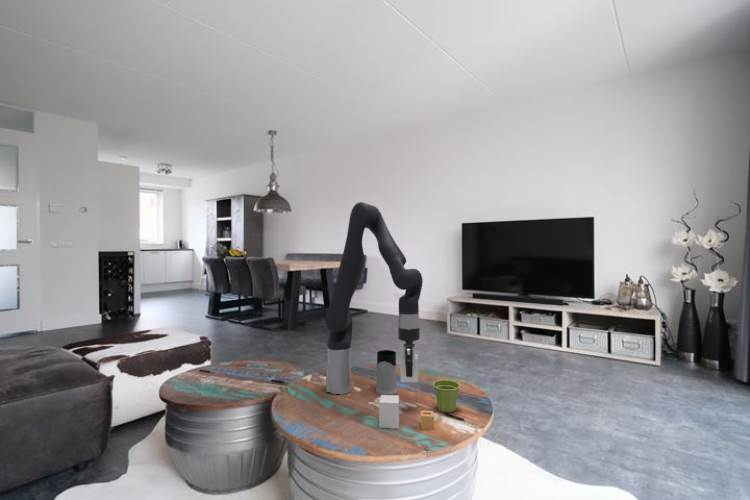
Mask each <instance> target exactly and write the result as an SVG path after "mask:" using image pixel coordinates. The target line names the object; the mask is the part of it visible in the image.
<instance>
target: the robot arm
mask: <svg viewBox="0 0 750 500" xmlns="http://www.w3.org/2000/svg"><path fill="white" fill-rule="evenodd" d="M365 229H368V230H369V231H370V232H371V233H372V235H373V236H374V237H375V239H376V241H377V248H378V250H379V254H380V256H381V257H382V259H383V260H384V262H385V264H386V265H387V267H388V269H389V273H390V276H391V279H392V282H393V284H394V285H395V287H396V288H397V289H399V290H403V291H404V290H405V293H404V295H402V296H400V297H398V298H399V299H398V316H397V318H398V319H397V333H398V335H397V336H398V340H399V341H402V342H405V343H403V346H402V347H403V348H402V350H403V354H404V359H405V366H406V377H412V366H413V359H414V354H415V350H416V349H415V348H416V344H415V343H414V342H416V341H419V340H420V338H421V337H420V336H421V335H420V330H421V328H420V327H421V326H420V325H421V324H420V312H419V311H420V309H419V308H420V307H419V302H420V301H419V300H420V297H421V292H422V289H423V280H424V279H423V276H422V273H421V271H420V270H419V269H416V268H405V267H404V266H405V265H406V263H407V257H406V256H405V254H404V252H402V250H401V249H400V247H399V246H398V244H397V243H396V241H395V240H394V238H393V236H392V234H391V233H390V231H389V228H388V226H387V224H386V221H385V220H384V217H383V215H382V213H381V211H380V209H379V208H378V207H377V206H375V205H372V204H369V203H366V202H362V201H361V202H357V203H355V204H354V205H353V207H352V209H351V211H350V216H349V220H348V228H347V234H346V240H345V243H344V247H343V248H344V249H343V253H342V256H341V260H340V263H339V268H338V271H337V276H336V280H335V285H334V290H333V295H332V298H331V301H330V303H329V306H328V308H327V312H326V315H325V317H324V319H325V320H324V322H325V326H326V328H327V329H328V330H329V336H328V340H327V367H326V370H325V372H326V373H325V374H326V375H325V376H326V382H325V383H326V385H325V386H326V390H325V391H326V393H327V392H330V393H329V394H331V393H332V394H331V395H336V394H340V395H346V394H348V393H350V392H351V391H352V346H351V345H352V339H353V314H352V312H351V310H350V305H351V302H352V299H353V296H354V294H355V292H356V290H357V288H358V286H359V283H360V281H361V278H362V275H363V273H364V268H365V263H366V262H365V260H366V259H365V253H364V247H363V236H364V233H365ZM407 359H409V360H411V362H407Z"/></svg>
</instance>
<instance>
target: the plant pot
mask: <svg viewBox="0 0 750 500" xmlns="http://www.w3.org/2000/svg"><path fill="white" fill-rule="evenodd" d="M432 386H433V389H434V392H435V398H436V405H437V410H439V411H441V412H442V413H444V412H446V413H453V412H455V411H456V409H457V400H458V393H459V390H460V388H461V384H460V383H458V382H457V381H454V380H450V379H438V380H436V381H434V382H433V383H432Z"/></svg>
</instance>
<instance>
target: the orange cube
mask: <svg viewBox="0 0 750 500" xmlns="http://www.w3.org/2000/svg"><path fill="white" fill-rule="evenodd" d="M420 429H422V430H423V429H424V430H434V429H435V415H434V411H433V410H420Z"/></svg>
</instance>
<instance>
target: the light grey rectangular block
mask: <svg viewBox="0 0 750 500" xmlns="http://www.w3.org/2000/svg"><path fill="white" fill-rule="evenodd" d="M399 362H400V364H399V366H400V368H399V369H400V370H399V371H400V382H401V383H419V354H416V353H414V359H413V366H412V377H406V366H405V359H404V353H400V361H399ZM407 362H411V360H409V359H407Z"/></svg>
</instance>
